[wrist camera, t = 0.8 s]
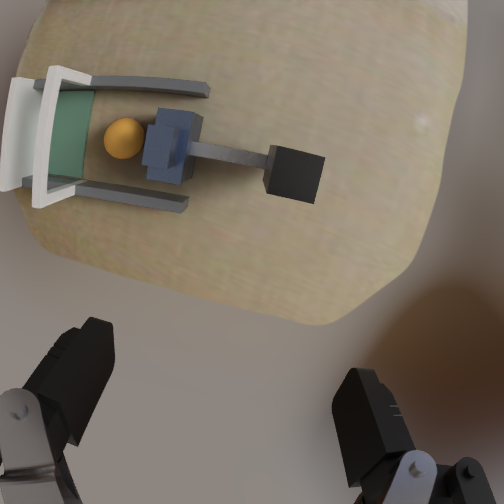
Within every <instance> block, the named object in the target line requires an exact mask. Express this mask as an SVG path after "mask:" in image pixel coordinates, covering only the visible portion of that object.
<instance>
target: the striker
mask: <svg viewBox="0 0 504 504" xmlns="http://www.w3.org/2000/svg"><path fill="white" fill-rule="evenodd" d="M203 118H204V117H202V116H200V115H198V114H196V113H195V112H189V111H182V110H174V109H165V108H158V111H157V116H156V121H155V125H149V124H148V129H147V134H146V140H145V146H144V152H143V158H142V165H145V166H148V168H147V175H146V179H149V180H155V181H161V182H167V183H173V184H179V185H180V184H182V183H184V182H185V181H187V180H189V179H190V178H192V174H193V168H194V163H195V158H196V156H200V157H205V158H211V159H217V160H222V161H227V162H233V163H238V164H243V165H248V166H253V167H257V168H262V169H265V171H264V176H263V183H264V186H265V190H266V193H267V194H272V195H276V196H281V197H285V198H290V199H294V200H298V201H303V202H307V203H311V204H314V201H315V197H316V193H317V189H318V185H319V181H320V177H321V173H322V169H323V165H324V161H325V157H321V156H318V155H314V154H310V153H306V152H302V151H298V150H294V149H290V148H286V147H281V146H276V145H270V149H269V153H268V155H265V154H261V153H256V152H251V151H246V150H241V149H236V148H231V147H225V146H220V145H214V144H208V143H202V142H199V137H200V132H201V127H202V122H203Z"/></svg>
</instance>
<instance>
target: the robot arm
mask: <svg viewBox="0 0 504 504" xmlns="http://www.w3.org/2000/svg"><path fill="white" fill-rule="evenodd" d="M114 363H115V350H114V335H113V325H112V323H111V322H107V321H104V320H100V319H97V318H94V317H89V318H88V319H87V321H86V322H85V323H84V325H83V326H82V327H81V329H78V328H75V327H73V328H72V329H70V330H68V331H66V332H65V333H63V334H62V335H61V336H60V337H59V339H58V340H57V341H56V342H55V344H54V346H53V347H51V349H50V350H49V351H48V353H47V355H45V357H44V358H43V360H42V361H41V362H40V364H39V365H38V366H37V368H36V369H35V371H34V372H33V374H32V375H31V376H30V378H29V379H28V381H27V382H26V384H25V385H24V386H23V387H22V388H14V389H10V390H7V391H6V392H4V393H3V394H2V395H1V396H0V466H1V463H2V461H3V465H4V474H3V475H1V476H0V488H1V492H2V496H3V500H4V504H83V503H82V501H81V498H80V496H79V494H78V491H77V489H76V486H75V484H74V481H73V479H72V476H71V473H70V470H69V468H68V465H67V462H66V459H65V456H64V453H63V450H64V448H65V446H66V444H67V443H70V444H72V445H74V446H77V447H78V445H79V443H80V441H81V438H82V436H83V434H84V431H85V429H86V427H87V425H88V423H89V420H90V418H91V416H92V413H93V411H94V409H95V407H96V405H97V403H98V401H99V399H100V397H101V394H102V392H103V390H104V388H105V386H106V384H107V382H108V380H109V378H110V376H111V374H112V371H113V368H114ZM332 414H333V419H334V422H335V427H336V432H337V436H338V440H339V444H340V449H341V454H342V458H343V463H344V467H345V472H346V477H347V481H348V486H349V488H350V487H360V486H361V487H362V492H361V493H360V494H359V496H358V497H357V499H356V501H355V502H354V504H496V502H495V499H494V496H493V493H492V491H491V488H490V485H489V483H488V480H487V477H486V475H485V473H484V470H483V468H482V466H481V464H480V463H479V462H478V461H477V460H475V459H473V458H470V457H464V458H462V459H460V460H459V461H458V462H457V463H456V464H455V465H454V466H448V465H439V464H435V462H434V460H433V459H432V457H431V456H429V455H428V454H427V453H425V452H422V451H418V450H416V448H415V446H414V444H413V441H412V439H411V436H410V434H409V431H408V429H407V426H406V424H405V422H404V419H403V417H402V416H401V413H400V410H399V408H398V407H397V403H396V401H395V399H394V396H393V394H392V393H391V392H390V390H389V389H388V388H387V387H386V386H385V385H384V384H381V383H380V382H379V380H378V377H377V375H376V373H375V371H374V370H373V369H366V368H351V369H350V370H349V372H348V373H347V375H346V377H345V379H344V380H343V382H342V384H341V386H340V388H339V389H338V391H337V392H336V394H335V396H334V398H333V402H332Z"/></svg>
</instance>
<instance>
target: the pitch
mask: <svg viewBox="0 0 504 504" xmlns="http://www.w3.org/2000/svg"><path fill="white" fill-rule="evenodd" d="M75 89H109V90H135V91H150V92H162V93H172V94H182V95H190V96H198V97H205V98H208V97H209V93H210V89H211V88H210V87H209V86H208V84H207V83H206V82H198V81H190V80H181V79H170V78H157V77H139V76H91V75H88V74H85V73H81V72H78V71H75V70H72V69H69V68H65V67H62V66H59V65H56V66H49V69H48V73H47V78H46V79H37V80H33V79H27V78H21V77H15V78H12V81H11V85H10V91H9V95H8V101H7V107H6V113H5V120H4V127H3V136H2V146H1V159H0V161H1V162H0V191H3V192H6V191H9V190H12V189H15V188H19V187H28V188H32V207H34V208H39V209H40V208H43V207H45V206H48V205H50V204H53V203H55V202H57V201H60V200H63V199H65V198H68V197H70V196H73V195H79V196H85V197H91V198H97V199H103V200H109V201H114V202H120V203H126V204H132V205H137V206H143V207H148V208H154V209H159V210H165V211H170V212H176V213H182V212H183V211H184V210H185V209H186V208H187V207H188V201H189V197H187V196H181V195H176V194H170V193H164V192H158V191H153V190H147V189H140V188H134V187H128V186H122V185H115V184H109V183H102V182H95V181H88V180H81V179H74V178H67V177H59V176H51V175H48V174H54V175H62V176H70V177H77V178H82V175H83V165H84V156H85V148H86V140H87V133H88V127H89V121H90V115H91V110H92V104H93V99H94V94H95V91H59V90H75Z"/></svg>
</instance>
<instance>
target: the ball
mask: <svg viewBox="0 0 504 504" xmlns="http://www.w3.org/2000/svg"><path fill="white" fill-rule="evenodd" d="M144 138H145V135H144V130H143V128H142V126H141V125H140V124H139V123H138V122H137V121H136V120H134V119H131V118H121V119H118V120H116V121H114V122H113V123H112V124H111V125H110V126H109V127H108V128H107V130H106V132H105V135H104V145H105V148H106V150H107V151H108V153H109V154H110V155H112V156H113V157H115V158H118V159H127V158H130V157H132V156H134V155H136V154H137V153H138V152H139V151H140V149H141V148H142V146H143V143H144Z"/></svg>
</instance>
